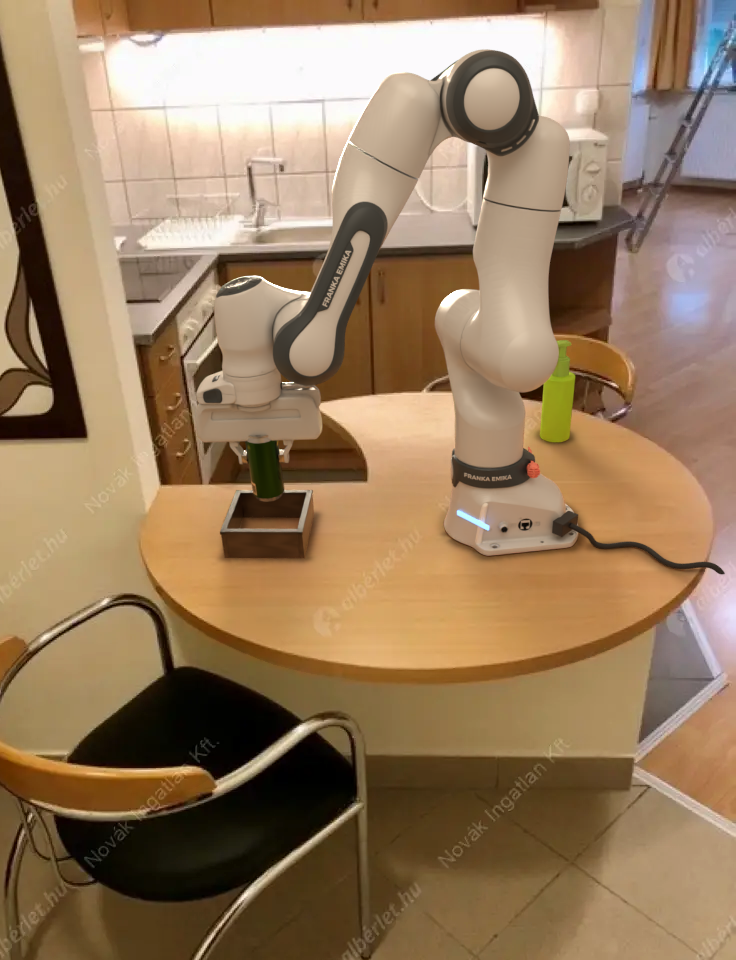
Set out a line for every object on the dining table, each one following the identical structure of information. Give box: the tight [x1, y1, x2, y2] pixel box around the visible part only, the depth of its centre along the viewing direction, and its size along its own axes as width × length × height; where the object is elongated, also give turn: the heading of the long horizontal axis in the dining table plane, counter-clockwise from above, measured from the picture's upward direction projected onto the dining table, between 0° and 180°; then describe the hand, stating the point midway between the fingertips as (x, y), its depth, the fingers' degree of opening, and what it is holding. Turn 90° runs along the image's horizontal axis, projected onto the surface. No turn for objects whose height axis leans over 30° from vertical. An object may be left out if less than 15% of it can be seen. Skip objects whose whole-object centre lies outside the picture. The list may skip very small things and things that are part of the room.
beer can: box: [244, 435, 286, 502], centre depth 141 cm, size 5×5×12 cm
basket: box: [219, 489, 315, 559], centre depth 147 cm, size 14×14×5 cm
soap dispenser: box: [539, 339, 576, 443], centre depth 169 cm, size 6×7×20 cm
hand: (264, 462), depth 141 cm, fingers closed on beer can, 5 cm apart
